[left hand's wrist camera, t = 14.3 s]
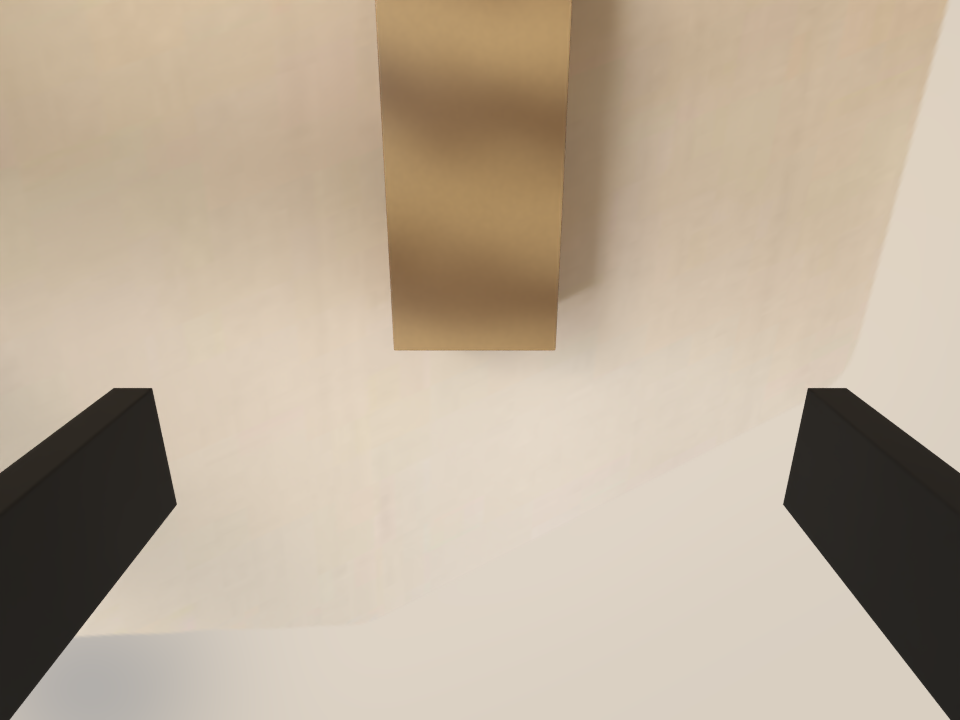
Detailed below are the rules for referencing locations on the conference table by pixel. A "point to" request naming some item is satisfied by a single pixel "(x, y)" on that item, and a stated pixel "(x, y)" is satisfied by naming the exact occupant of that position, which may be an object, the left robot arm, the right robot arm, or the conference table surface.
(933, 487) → the left robot arm
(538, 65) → the wide beam
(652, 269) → the conference table surface
